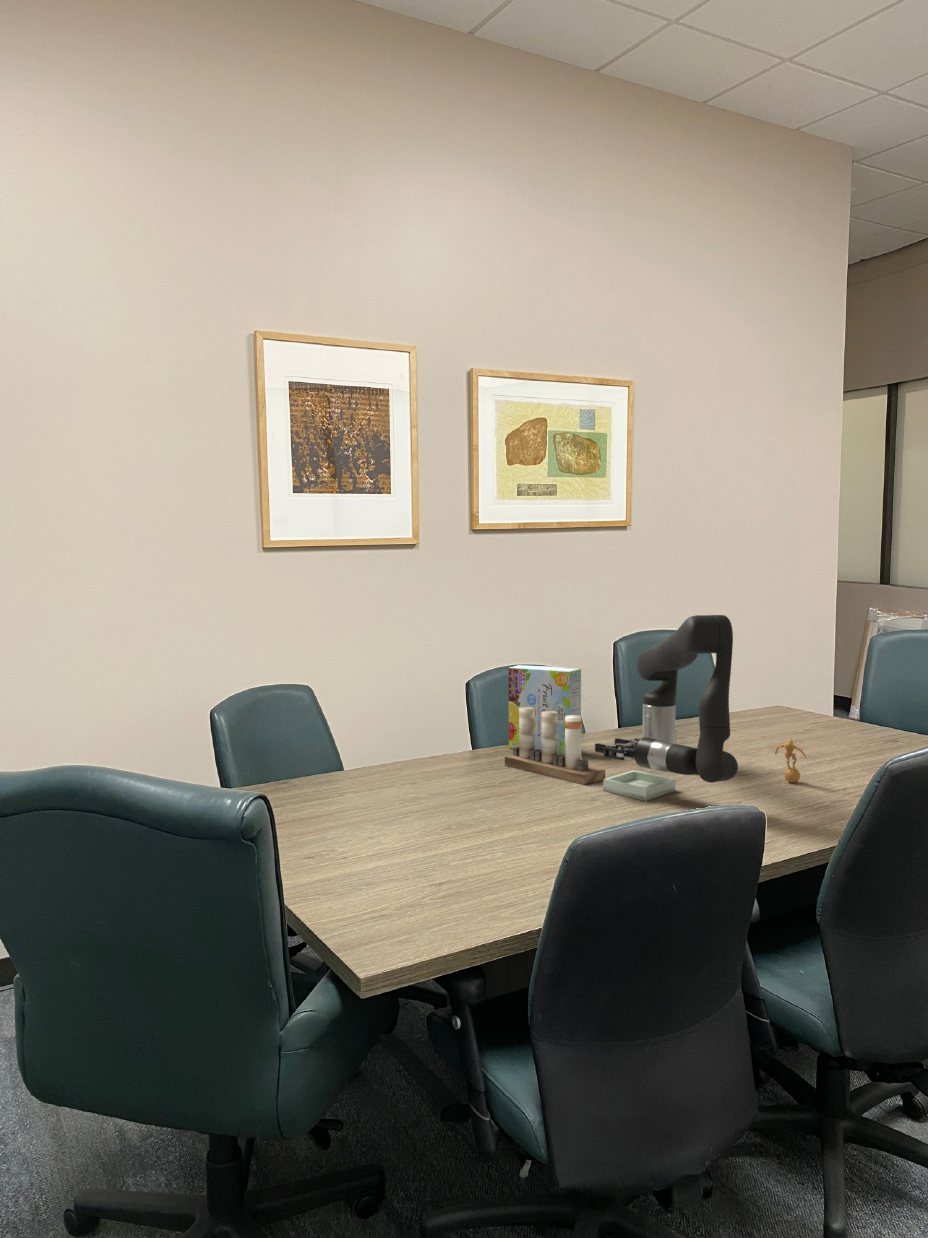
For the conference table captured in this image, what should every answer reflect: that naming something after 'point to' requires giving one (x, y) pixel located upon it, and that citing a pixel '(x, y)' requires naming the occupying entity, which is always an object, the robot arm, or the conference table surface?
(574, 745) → the marked fuse
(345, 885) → the conference table surface
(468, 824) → the conference table surface
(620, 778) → the tray
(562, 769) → the rail
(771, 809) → the conference table surface
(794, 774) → the figurine
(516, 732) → the snack box
